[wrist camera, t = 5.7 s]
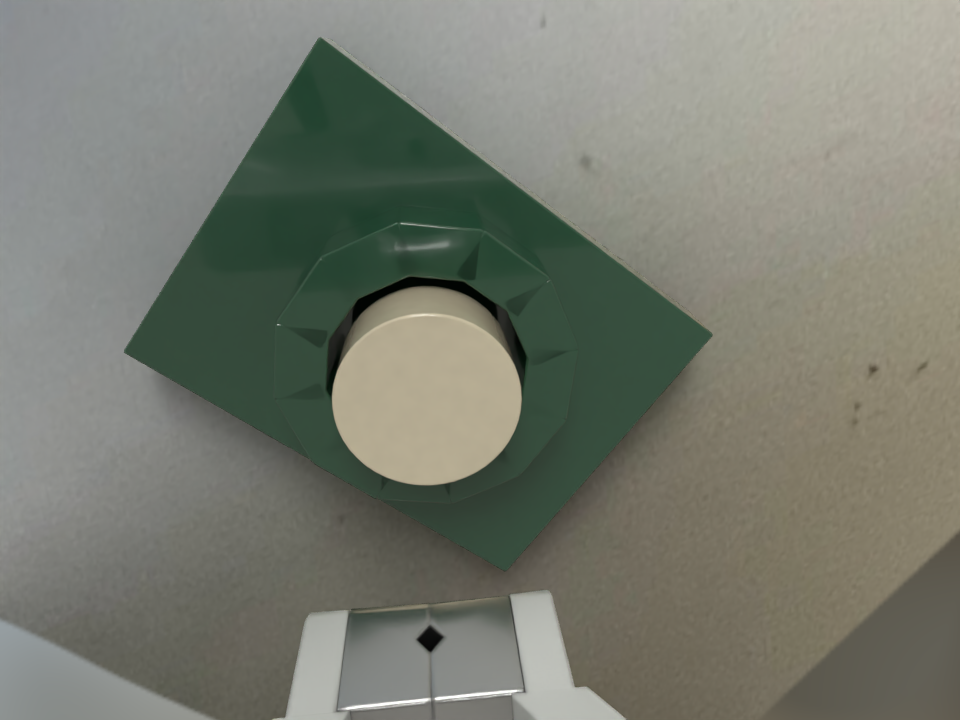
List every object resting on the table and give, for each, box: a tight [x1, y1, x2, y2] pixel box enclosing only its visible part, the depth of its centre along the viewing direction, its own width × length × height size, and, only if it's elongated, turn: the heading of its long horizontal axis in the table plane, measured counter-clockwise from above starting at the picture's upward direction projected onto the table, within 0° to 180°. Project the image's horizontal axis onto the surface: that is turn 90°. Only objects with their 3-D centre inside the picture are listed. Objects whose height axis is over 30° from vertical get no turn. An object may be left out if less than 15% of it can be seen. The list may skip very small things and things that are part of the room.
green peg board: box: [124, 37, 713, 571], centre depth 19 cm, size 12×9×4 cm
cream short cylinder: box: [332, 286, 522, 485], centre depth 17 cm, size 4×4×2 cm
